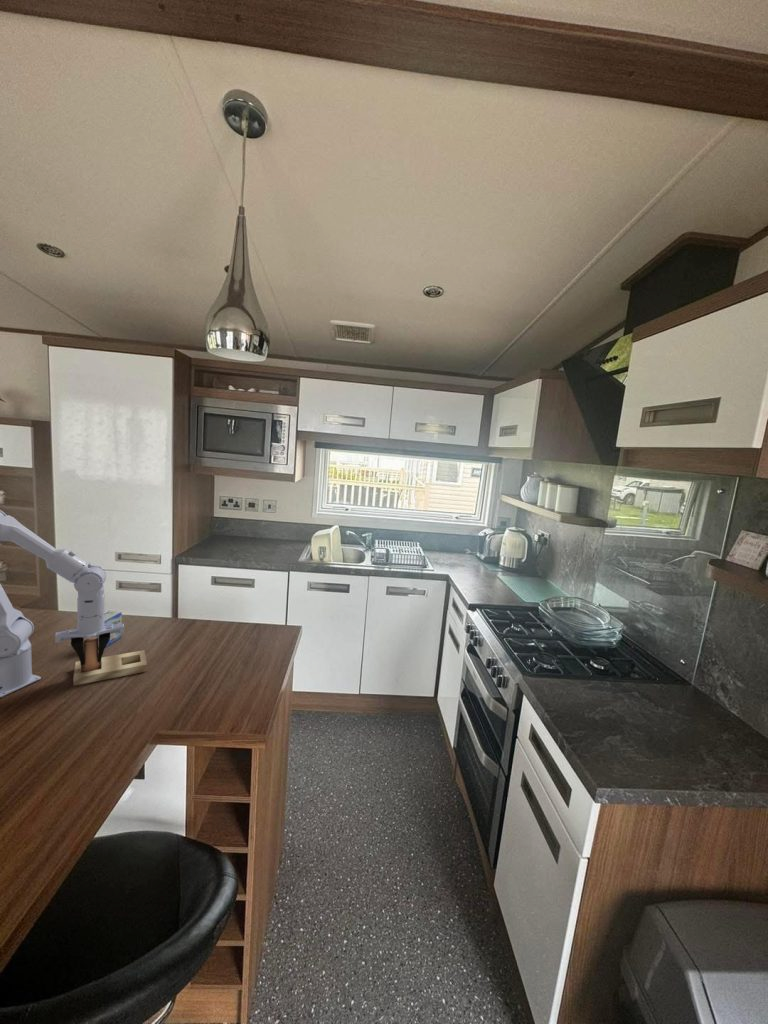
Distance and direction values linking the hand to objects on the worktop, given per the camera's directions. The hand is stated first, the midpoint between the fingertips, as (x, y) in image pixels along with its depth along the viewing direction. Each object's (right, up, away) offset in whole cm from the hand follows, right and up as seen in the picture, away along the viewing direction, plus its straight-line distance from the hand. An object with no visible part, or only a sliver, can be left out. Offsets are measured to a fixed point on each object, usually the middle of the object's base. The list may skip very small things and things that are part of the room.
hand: (91, 661), depth 105 cm
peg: (0, -3, 0) cm, 3 cm away
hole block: (+3, -3, +3) cm, 6 cm away
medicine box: (-8, -1, +17) cm, 19 cm away
